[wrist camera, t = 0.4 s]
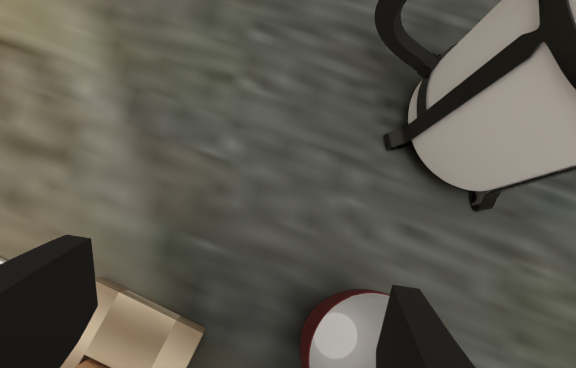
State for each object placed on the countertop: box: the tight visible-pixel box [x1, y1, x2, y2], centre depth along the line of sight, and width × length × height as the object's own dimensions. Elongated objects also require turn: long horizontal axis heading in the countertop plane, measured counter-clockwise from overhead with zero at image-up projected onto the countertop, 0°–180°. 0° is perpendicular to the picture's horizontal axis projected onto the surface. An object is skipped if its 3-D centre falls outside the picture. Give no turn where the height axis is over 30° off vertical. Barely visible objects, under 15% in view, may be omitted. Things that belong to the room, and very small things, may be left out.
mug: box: [300, 289, 390, 368], centre depth 31 cm, size 10×8×10 cm
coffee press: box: [375, 0, 576, 211], centre depth 26 cm, size 17×16×30 cm
